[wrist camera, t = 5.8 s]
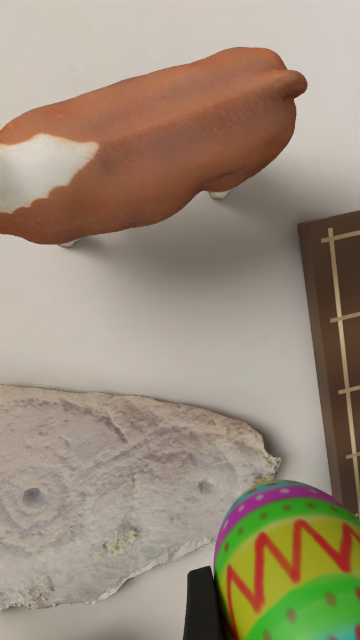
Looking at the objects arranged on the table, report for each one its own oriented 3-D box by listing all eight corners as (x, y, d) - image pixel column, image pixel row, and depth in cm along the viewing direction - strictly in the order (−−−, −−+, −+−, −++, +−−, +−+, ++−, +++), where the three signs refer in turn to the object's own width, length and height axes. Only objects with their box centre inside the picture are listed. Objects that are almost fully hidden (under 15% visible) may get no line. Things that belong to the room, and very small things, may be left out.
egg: (352, 461, 11) (572, 690, 5) (323, 578, 12) (483, 881, 6) (214, 453, 11) (291, 698, 5) (194, 576, 12) (239, 906, 6)
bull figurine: (-46, 174, 15) (-280, 80, 7) (242, 112, 15) (342, -43, 7) (-12, 269, 16) (-182, 287, 8) (257, 208, 16) (362, 165, 8)
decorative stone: (-70, 614, 19) (-86, 641, 18) (-114, 385, 16) (-137, 396, 15) (268, 578, 21) (277, 600, 19) (277, 367, 18) (287, 375, 17)
